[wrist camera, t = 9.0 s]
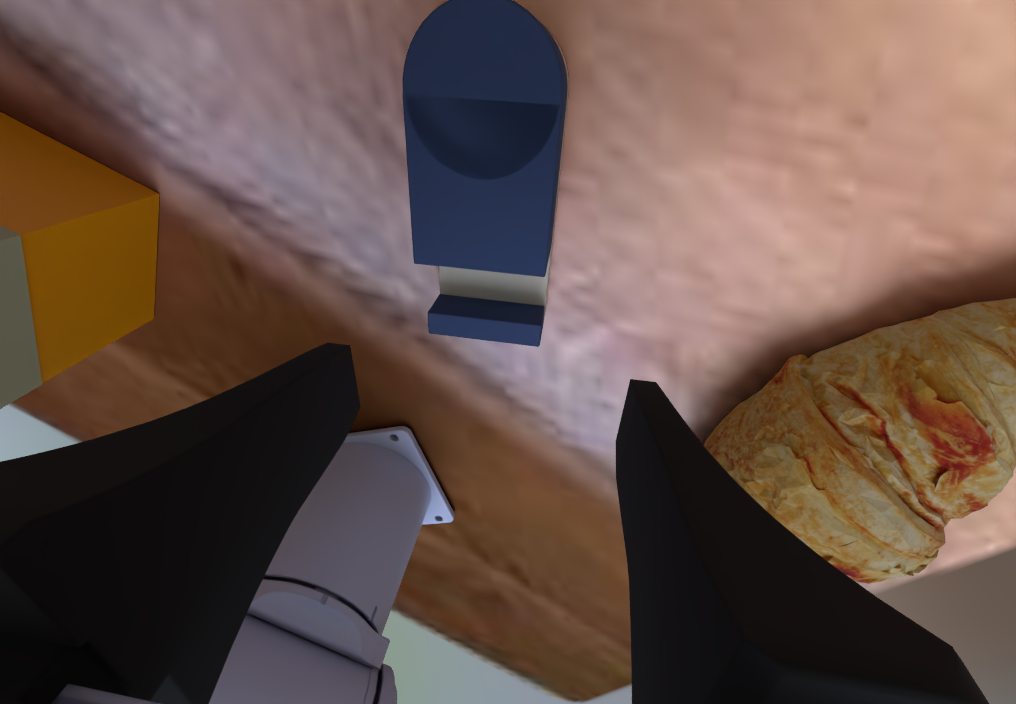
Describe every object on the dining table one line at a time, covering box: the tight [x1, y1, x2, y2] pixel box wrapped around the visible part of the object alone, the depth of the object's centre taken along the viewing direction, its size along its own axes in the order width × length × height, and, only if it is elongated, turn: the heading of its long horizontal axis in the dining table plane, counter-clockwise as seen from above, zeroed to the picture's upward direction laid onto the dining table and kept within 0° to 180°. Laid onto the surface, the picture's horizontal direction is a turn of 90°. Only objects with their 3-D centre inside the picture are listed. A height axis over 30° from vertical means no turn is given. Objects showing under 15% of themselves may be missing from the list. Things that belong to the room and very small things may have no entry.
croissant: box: [704, 298, 1016, 583], centre depth 19 cm, size 21×10×8 cm
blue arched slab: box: [403, 0, 569, 347], centre depth 16 cm, size 11×5×4 cm, turn 177°
